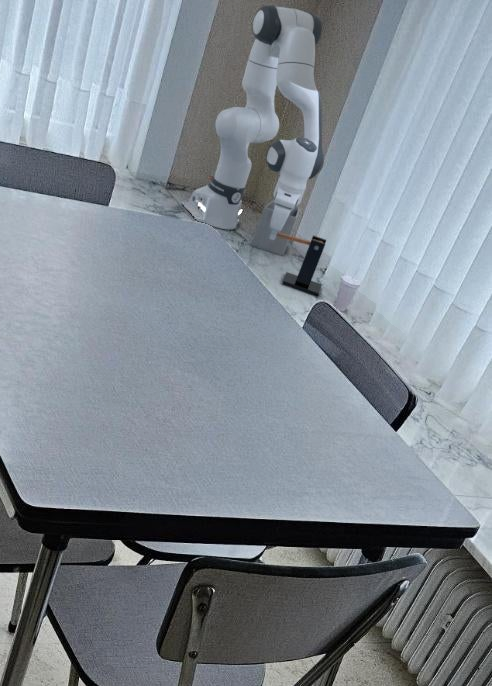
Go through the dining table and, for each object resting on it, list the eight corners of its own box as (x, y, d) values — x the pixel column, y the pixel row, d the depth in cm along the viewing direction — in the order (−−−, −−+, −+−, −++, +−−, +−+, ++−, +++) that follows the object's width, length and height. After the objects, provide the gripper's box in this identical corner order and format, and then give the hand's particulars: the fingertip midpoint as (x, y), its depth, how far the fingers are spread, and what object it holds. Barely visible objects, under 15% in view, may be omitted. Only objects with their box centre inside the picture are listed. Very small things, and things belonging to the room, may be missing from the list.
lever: (269, 238, 313) (271, 231, 312) (271, 234, 317) (273, 226, 316) (319, 252, 312) (321, 245, 311) (321, 247, 316) (323, 240, 315)
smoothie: (349, 315, 312) (366, 274, 304) (329, 308, 312) (346, 267, 304) (349, 307, 317) (366, 267, 309) (330, 301, 317) (346, 260, 309)
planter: (264, 255, 335) (284, 199, 324) (250, 244, 340) (269, 189, 329) (299, 255, 345) (319, 201, 334) (285, 245, 349) (304, 191, 338)
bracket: (282, 284, 318) (299, 237, 309) (285, 275, 325) (302, 229, 316) (317, 296, 317) (336, 250, 308) (320, 287, 325) (338, 241, 316)
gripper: (282, 181, 316) (267, 223, 324) (274, 198, 299) (259, 242, 307) (301, 188, 316) (286, 229, 324) (294, 205, 299) (278, 249, 307)
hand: (273, 236), depth 315 cm, fingers closed on lever, 5 cm apart
